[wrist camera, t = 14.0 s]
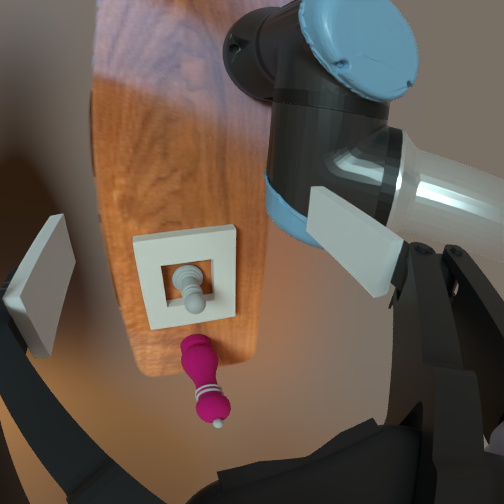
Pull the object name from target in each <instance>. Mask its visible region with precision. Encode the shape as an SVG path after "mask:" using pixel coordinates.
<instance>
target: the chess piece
mask: <svg viewBox="0 0 504 504" xmlns="http://www.w3.org/2000/svg"><path fill="white" fill-rule="evenodd" d="M202 281H203V274H202V271H201V270H200V269H199V268H198V267H196V266H194V265H183V266H181V267H179V268H178V269H176V271H175V272H174V274H173V277H172V282H173V285H174V286H175V287H176V288H177V289H178V290H180V291H182V293H181V294H182V299H183V301H184V305H185V308H186V310H187V311H188V312H190V313H191V314H199V313H201V312H203V310H204V309H205V307H206V300H205V298H204V297H203V292H202V289H201V287H200V285H201V283H202Z"/></svg>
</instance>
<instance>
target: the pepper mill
mask: <svg viewBox="0 0 504 504" xmlns="http://www.w3.org/2000/svg"><path fill="white" fill-rule="evenodd" d="M181 352H182V358H181V363H182V366H183V369H184V370H185V372H186V373H187V374H188V375H189V377H190V378H191V379H192V380H193V382H194V383H195V386H196V389H197V390H196V392H195V396H196V400H197V401H198V402H197V404H196V411H197V414H198V416H199V417H200V418H201V419H202V420H204V421H205V422H209V423H213V425H214V426H215V427H216V428H221V427H222V426H223V424H224V423H223V420H224V419H226V418H227V417H228V415H229V413H230V410H231V406H230V402H229V400H228V399H227V398H226V397H225V396H224V394H223V391H222V388H221V387H220V386H219V385H218V384H217V381H216V370H217V366H218V358H217V354H216V352H215V351H214V350H213V349H212V346H211V343H210V340H209V339H208V338H207V337H206V336H204V335H200V334H195V335H191V336H188V337H186V338H185V339H184V340H183V341H182V343H181Z"/></svg>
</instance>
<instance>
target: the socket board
mask: <svg viewBox="0 0 504 504" xmlns="http://www.w3.org/2000/svg"><path fill="white" fill-rule="evenodd" d="M133 247H134V253H135V258H136V264H137V269H138V274H139V279H140V284H141V289H142V293H143V298H144V303H145V307H146V311H147V315H148V320H149V324H150V328H151V330H154V329H161V328H168V327H174V326H181V325H187V324H193V323H200V322H205V321H211V320H217V319H223V318H228V317H234V316H235V285H236V228H235V227H234V225H233V224H230V225H221V226H212V227H203V228H195V229H186V230H178V231H170V232H162V233H154V234H146V235H139V236H133ZM208 259H211V273H212V293H211V294H205V295H203V297H204V298H205V300H206V307H205V309H204V310H203V312H201V313H199V314H191V313H190V312H188V311H187V310H186V308H185V305H184V301H183V299H182V298H179V299H172V300H166V296H165V290H164V284H163V277H162V271H161V266H164V265H172V264H179V263H186V262H194V261H201V260H208Z"/></svg>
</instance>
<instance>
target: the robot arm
mask: <svg viewBox="0 0 504 504" xmlns="http://www.w3.org/2000/svg"><path fill="white" fill-rule="evenodd" d="M223 61H224V65H225V68H226V71H227V73H228V75H229V77H230V78H231V80H232V81H233V82H234V84H235V85H236V86H237V87H238V88H239V89H241V90H242V91H243V92H244V93H246V94H247V95H249V96H251V97H253V98H256V99H258V100H262V101H267V102H272V113H271V126H270V138H269V149H268V158H267V168H266V169H265V173H264V179H265V183H266V191H265V206H266V210H267V213H268V215H269V216H270V218H271V219H272V220H273V221H274V223H275V224H276V225H277V226H278V227H279V228H280V229H281V230H283V231H284V232H285V233H287V234H288V235H290V236H291V237H293V238H295V239H297V240H299V241H301V242H303V243H306V244H308V245H311V246H314V247H317V248H321V249H325V250H326V251H328V253H330V254H331V255H332V256H333V257H334V258H335V259H336V260H337V261H338V262H339V263H340V264H341V265H342V266H343V267H344V268H345V269H346V270H347V271H348V272H349V273H350V274H351V275H352V276H353V277H354V278H355V279H356V280H357V281H358V282H359V283H360V284H361V285H362V286H363V287H364V288H365V289H366V290H367V291H368V292H369V293H370V294H371V295H372V296H373V297H374V298H376V297H380V296H383V295H386V294H387V292H388V289H389V286H390V283H392V284H393V285H394V286H395V287H396V288H395V291H394V294H393V296H392V299H391V302H390V304H389V308H391V306H392V305H393V351H392V370H391V382H390V394H389V404H388V412H387V417H386V420H385V423H384V425H377V423H376V422H375V420H374V419H373V418H371V419H369V420H367V421H365V422H363V423H361V424H358V425H356V426H354V427H352V428H350V429H348V430H345V431H343V432H341V433H339V434H338V435H337V436H335V437H334V438H333V439H331V440H330V441H329V442H327V443H326V444H325V445H323V446H322V447H321V448H319V449H318V450H316V451H315V452H313V453H312V454H311V455H309V456H307V457H302V458H294V459H284V460H272V461H259V462H255V463H252V464H248V465H244V466H240V467H236V468H232V469H228V470H223V471H218V472H217V475H218V479H219V480H217V481H215V482H213V483H211V484H209V485H207V486H206V487H204V488H203V489H201V490H200V491H198V492H197V493H196V494H195V495H193V496H192V497H191V498H190V499H189V500H188V501H187V503H186V504H504V301H503V300H502V298H501V297H500V296H499V294H498V293H497V291H496V290H495V288H494V287H493V286H492V284H491V283H490V281H489V280H488V279H487V277H486V276H485V275H484V273H483V272H482V271H481V270H480V268H479V267H478V266H477V264H476V263H475V262H474V261H473V259H472V258H471V257H470V256H469V254H468V253H467V252H466V251H470V252H472V253H475V254H478V255H481V256H484V257H487V258H490V259H493V260H496V261H499V262H501V263H504V180H503V179H500V178H498V177H495V176H493V175H490V174H488V173H486V172H483V171H480V170H478V169H475V168H472V167H470V166H467V165H464V164H462V163H459V162H456V161H453V160H450V159H447V158H444V157H441V156H438V155H435V154H431V153H428V152H425V151H421V150H419V149H418V148H416V147H415V145H414V144H413V142H412V141H411V139H410V138H409V136H408V135H407V133H406V132H405V131H404V130H400V129H397V128H392V127H389V126H388V125H387V120H388V114H389V107H390V101H393V100H395V99H397V98H400V97H402V96H403V95H405V94H406V93H407V91H408V87H412V86H413V84H414V82H415V80H416V77H417V73H418V67H419V56H418V48H417V44H416V40H415V38H414V35H413V32H412V30H411V28H410V26H409V24H408V22H407V21H405V19H404V18H403V17H402V14H401V13H400V11H399V10H398V9H397V8H396V7H395V6H394V4H393V3H392V2H391V1H389V0H294V1H292V2H290V3H288V4H287V5H285V6H283V7H281V8H280V7H265V8H260V9H257V10H254V11H251V12H249V13H248V14H246V15H244V16H243V17H242V18H240V19H239V20H238V21H237V22H235V23H234V25H233V26H232V27H231V28H230V30H229V31H228V33H227V35H226V38H225V41H224V45H223ZM282 102H283V103H282ZM290 103H292V104H290ZM299 104H300V105H299ZM383 119H384V120H383ZM401 231H404V232H407V233H411V234H414V235H418V236H421V237H425V238H428V239H431V240H435V241H438V242H441V243H444V244H447V245H446V246H445V248H444V251H443V254H436V253H435V251H434V250H433V249H432V248H431V247H429V246H428V245H426V244H423V243H418V242H412V243H410V244H409V243H407V242H406V241H405V240H403V239H402V238H401V237H399V236H397V235H396V233H397V232H401ZM465 250H466V251H465ZM75 262H76V261H75V258H74V255H73V251H72V247H71V243H70V240H69V235H68V231H67V227H66V223H65V218H64V214H59V215H54V216H50V217H49V219H48V220H47V222H46V223H45V225H44V227H43V228H42V229H41V231H40V232H39V234H38V236H37V237H36V239H35V241H34V242H33V244H32V245H31V247H30V249H29V250H28V252H27V254H26V255H25V257H24V259H23V260H22V262H21V264H20V266H19V267H16V268H14V269H13V270H12V271H11V272H10V274H8V276H7V278H6V280H5V282H4V284H3V285H2V287H1V290H0V395H1V397H2V399H3V401H4V403H5V405H6V407H7V409H8V410H9V412H10V414H11V416H12V418H13V419H14V421H15V423H16V424H17V426H18V428H19V429H20V431H21V433H22V434H23V436H24V437H25V439H26V441H27V442H28V444H29V445H30V447H31V448H32V450H33V451H34V452H35V454H36V455H37V457H38V458H39V460H40V461H41V462H42V464H43V465H44V467H45V468H46V469H47V471H48V472H49V473H50V474H51V476H52V477H53V478H54V480H55V481H56V482H57V483H58V484H59V486H60V487H61V488H62V489H63V491H64V492H65V493H66V495H67V498H66V500H67V502H68V504H166V503H165V502H164V501H162V500H161V499H160V498H158V497H157V496H156V495H154V494H153V493H151V492H150V491H149V490H148V489H147V488H145V487H144V486H143V485H141V484H140V483H139V482H138V481H137V480H135V479H134V478H133V477H132V476H131V475H130V474H128V473H127V472H126V471H125V470H124V469H123V468H122V467H120V466H119V465H118V464H117V463H116V462H115V461H114V460H113V459H112V458H110V457H109V456H108V455H107V454H106V453H105V452H104V451H103V450H102V449H101V448H100V447H99V446H98V445H97V444H96V443H95V442H94V441H93V440H92V439H91V438H90V437H89V436H88V434H87V433H86V432H85V431H84V430H83V429H82V428H81V427H80V426H79V425H78V423H77V422H76V421H75V420H74V419H73V418H72V417H71V416H70V414H69V413H68V412H67V411H66V409H65V408H64V407H63V406H62V405H61V403H60V402H59V401H58V400H57V398H56V397H55V396H54V394H53V393H52V392H51V391H50V389H49V388H48V387H47V385H46V384H45V383H44V381H43V380H42V379H41V377H40V376H39V374H38V373H37V371H36V370H35V368H34V367H33V365H32V364H31V362H30V361H29V359H28V358H27V356H26V351H27V348H28V349H29V350H30V352H31V353H32V355H33V357H34V358H45V357H51V354H52V349H53V344H54V339H55V334H56V330H57V326H58V321H59V317H60V313H61V309H62V305H63V302H64V298H65V295H66V291H67V288H68V284H69V281H70V278H71V275H72V271H73V268H74V265H75ZM457 284H458V285H459V287H458V292H457V294H456V295H455V293H454V291H455V288H456V286H457ZM483 434H484V436H485V439H486V440H487V442H488V444H489V445H488V446H487V447H486V448H485V449H484V441H483V440H484V439H483ZM0 504H30V503H29V501H28V499H27V496H26V494H25V492H24V490H23V487H22V485H21V483H20V480H19V477H18V475H17V472H16V470H15V467H14V465H13V461H12V459H11V456H10V453H9V450H8V446H7V443H6V440H5V437H4V433H3V430H2V426H1V422H0Z"/></svg>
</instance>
